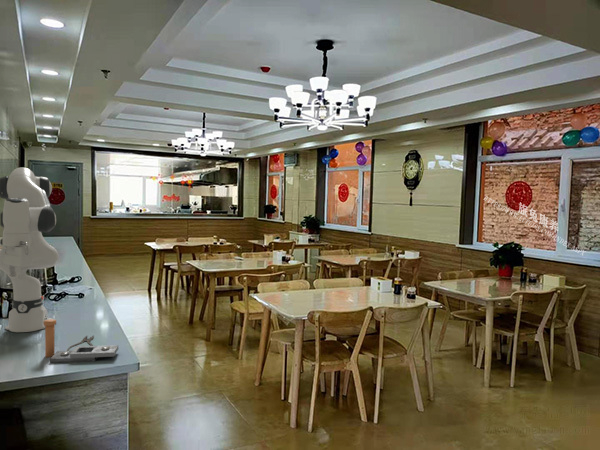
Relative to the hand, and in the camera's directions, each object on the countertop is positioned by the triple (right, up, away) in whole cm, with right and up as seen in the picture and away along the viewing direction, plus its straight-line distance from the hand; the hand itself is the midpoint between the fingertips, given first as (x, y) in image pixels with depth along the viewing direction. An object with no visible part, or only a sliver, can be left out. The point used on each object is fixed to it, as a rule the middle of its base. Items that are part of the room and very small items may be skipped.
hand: (17, 277), depth 169 cm
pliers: (+12, -32, +24) cm, 42 cm away
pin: (+7, -32, +9) cm, 34 cm away
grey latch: (+22, -32, +8) cm, 40 cm away
